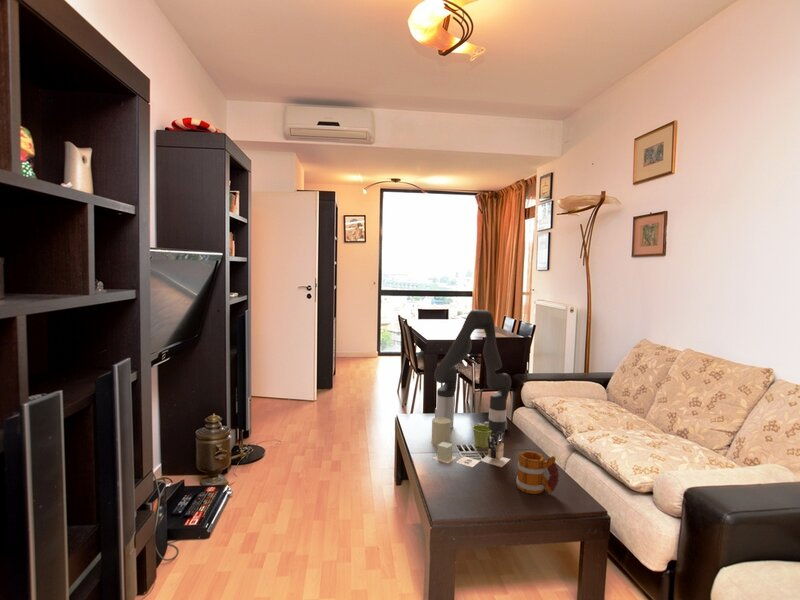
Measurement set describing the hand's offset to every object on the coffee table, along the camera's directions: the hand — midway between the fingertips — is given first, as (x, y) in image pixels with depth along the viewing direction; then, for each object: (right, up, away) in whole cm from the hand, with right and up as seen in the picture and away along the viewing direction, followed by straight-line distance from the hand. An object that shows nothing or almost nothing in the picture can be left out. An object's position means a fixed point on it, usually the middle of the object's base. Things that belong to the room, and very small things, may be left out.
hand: (495, 455), depth 197 cm
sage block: (-23, -1, +1) cm, 22 cm away
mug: (+10, -5, -25) cm, 28 cm away
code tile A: (-13, -2, -2) cm, 13 cm away
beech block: (0, 0, 0) cm, 0 cm away
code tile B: (-23, -2, +1) cm, 23 cm away
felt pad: (0, -2, 0) cm, 2 cm away
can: (-23, -1, +18) cm, 29 cm away
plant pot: (-3, -1, +17) cm, 17 cm away
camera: (+7, 0, +40) cm, 41 cm away
